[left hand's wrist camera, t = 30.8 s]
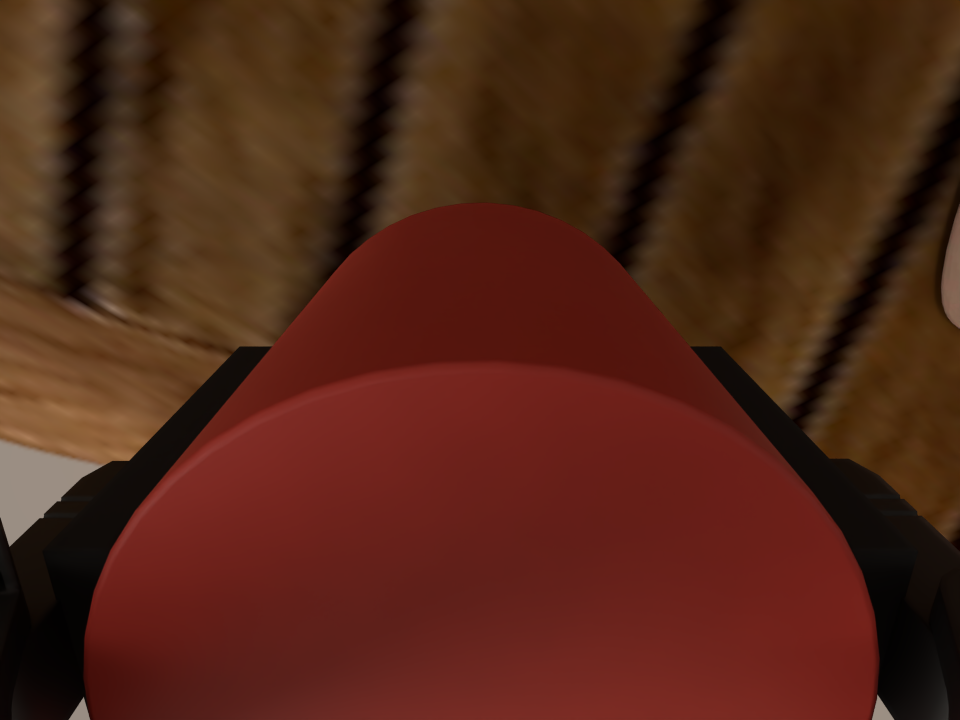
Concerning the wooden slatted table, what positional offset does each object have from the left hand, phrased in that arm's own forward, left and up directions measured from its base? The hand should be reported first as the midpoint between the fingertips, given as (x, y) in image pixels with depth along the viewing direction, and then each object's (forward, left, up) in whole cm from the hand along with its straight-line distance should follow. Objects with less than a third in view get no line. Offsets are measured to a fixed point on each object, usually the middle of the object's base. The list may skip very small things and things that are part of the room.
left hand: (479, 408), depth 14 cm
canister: (0, 0, -2) cm, 2 cm away
